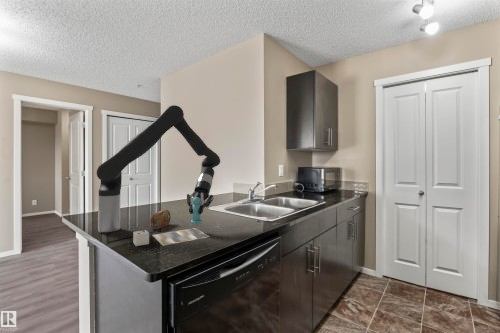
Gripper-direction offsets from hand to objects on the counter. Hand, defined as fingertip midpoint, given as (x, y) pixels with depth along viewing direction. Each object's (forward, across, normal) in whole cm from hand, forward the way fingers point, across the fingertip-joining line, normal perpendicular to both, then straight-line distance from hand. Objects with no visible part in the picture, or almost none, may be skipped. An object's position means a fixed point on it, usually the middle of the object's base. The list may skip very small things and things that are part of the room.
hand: (195, 213), depth 113 cm
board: (+10, -6, +5) cm, 12 cm away
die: (+19, -17, -4) cm, 26 cm away
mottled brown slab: (+1, -22, +14) cm, 26 cm away
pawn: (+2, 0, +5) cm, 5 cm away
